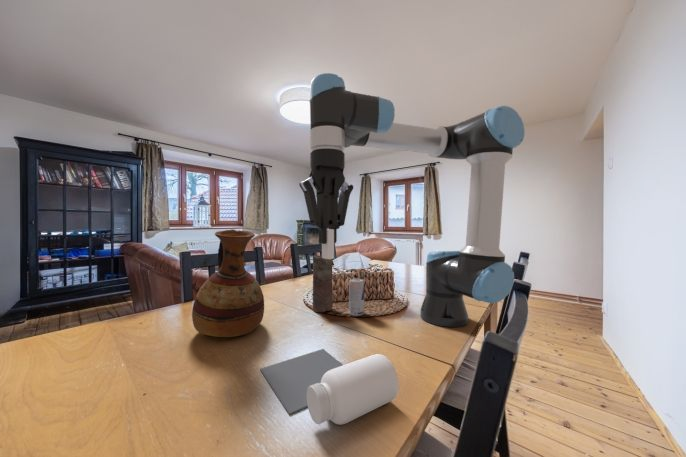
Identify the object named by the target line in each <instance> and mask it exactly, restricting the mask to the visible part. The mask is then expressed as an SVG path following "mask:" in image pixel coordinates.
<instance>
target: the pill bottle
mask: <svg viewBox="0 0 686 457" xmlns="http://www.w3.org/2000/svg"><path fill="white" fill-rule="evenodd" d="M399 382H400V381H399V377H398V374H397V371H396V368H395V367H394V365H393V363H392V362H391V360H390V359H389V358H388V357H387V356H385V355H383V354H380V353H376V354H372V355H369V356H366V357H363V358H360V359H357V360H354V361H352V362H349V363H346V364H343V366H340V367H337V368H334V369H331V370H329V371H327V372H326V373H325V374H324V375H323V377H322V379H321V383H316V384H314V385H311V386H309V388H308V390H307V405H308V407H307V410H308V413H309V416H310V418H311V420H312V421H313V422H314V423H315V424H317V425H321V424H323V423H325V422H329V421H331V422H332V423H333V424H335V425H339V426H340V425H346V424H349V422H352V421H354V420H356V419H357V418H359V417H362V416H363V415H365V414H369V412H372V411H373V410H376V409H378V408H379V407H382V406H383V405H386V404H388V403H390V402H392V401H393V400H394V399H396V398H397V396H398V393H399V390H400V389H399V388H400V383H399Z"/></svg>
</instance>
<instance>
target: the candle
mask: <svg viewBox="0 0 686 457" xmlns="http://www.w3.org/2000/svg"><path fill="white" fill-rule="evenodd" d="M333 302H334V301H333V259H325V258H322V255H317V254H315V255H312V310H313V312H315V313H325V312H327V311H331V310H332V309H333Z"/></svg>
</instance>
